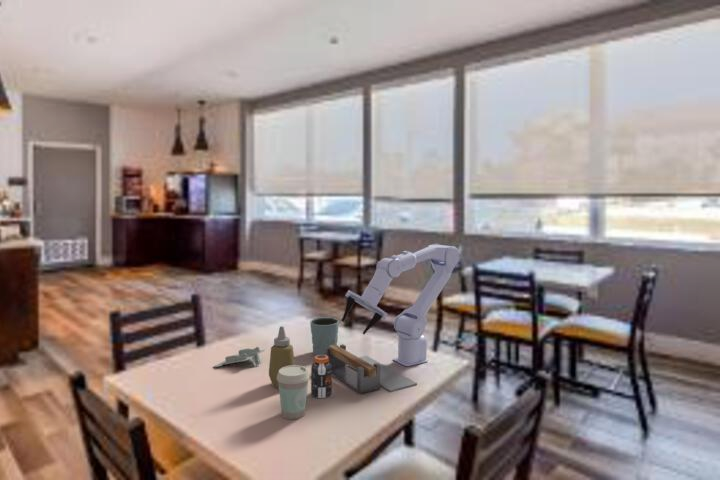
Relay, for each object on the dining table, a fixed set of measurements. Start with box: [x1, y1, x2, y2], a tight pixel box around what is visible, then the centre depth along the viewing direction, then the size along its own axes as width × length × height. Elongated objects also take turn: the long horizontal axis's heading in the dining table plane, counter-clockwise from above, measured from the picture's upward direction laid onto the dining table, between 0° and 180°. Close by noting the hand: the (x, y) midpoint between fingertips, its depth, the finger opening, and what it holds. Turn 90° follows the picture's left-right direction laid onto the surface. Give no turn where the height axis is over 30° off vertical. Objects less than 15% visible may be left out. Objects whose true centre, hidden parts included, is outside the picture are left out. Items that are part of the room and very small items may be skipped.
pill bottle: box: [310, 355, 333, 399], centre depth 138 cm, size 6×6×11 cm
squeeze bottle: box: [268, 325, 296, 389], centre depth 144 cm, size 8×8×18 cm
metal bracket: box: [212, 346, 266, 368], centre depth 163 cm, size 14×6×15 cm
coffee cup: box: [277, 364, 311, 420], centre depth 125 cm, size 8×8×12 cm
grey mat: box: [346, 355, 418, 393], centre depth 155 cm, size 10×28×1 cm, turn 32°
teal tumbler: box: [309, 316, 340, 357], centre depth 172 cm, size 10×10×12 cm
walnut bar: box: [329, 344, 376, 377], centre depth 149 cm, size 2×24×2 cm, turn 32°
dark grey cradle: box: [325, 343, 381, 395], centre depth 149 cm, size 7×22×8 cm, turn 32°
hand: (352, 327), depth 150 cm, fingers open, 7 cm apart
